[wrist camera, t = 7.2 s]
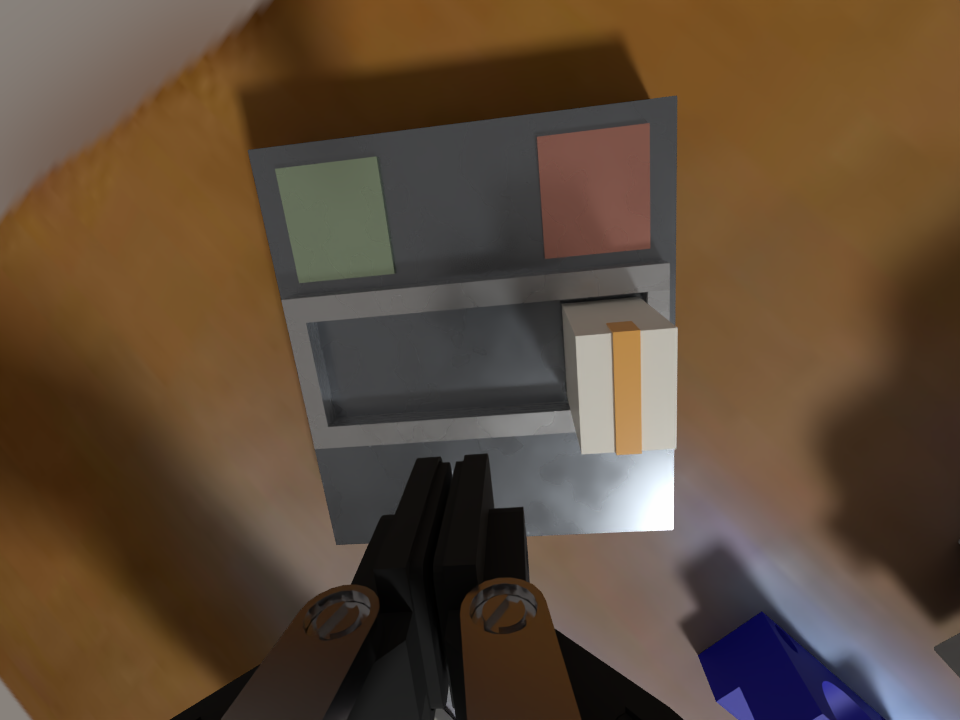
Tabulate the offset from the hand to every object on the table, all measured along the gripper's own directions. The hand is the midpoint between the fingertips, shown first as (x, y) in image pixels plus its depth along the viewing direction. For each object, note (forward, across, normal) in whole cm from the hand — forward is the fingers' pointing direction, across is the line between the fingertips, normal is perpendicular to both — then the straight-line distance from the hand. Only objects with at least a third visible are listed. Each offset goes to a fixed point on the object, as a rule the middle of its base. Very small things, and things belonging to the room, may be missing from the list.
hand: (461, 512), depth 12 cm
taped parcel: (+10, -5, -1) cm, 11 cm away
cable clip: (+14, -16, +22) cm, 30 cm away
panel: (+13, 0, -1) cm, 13 cm away
